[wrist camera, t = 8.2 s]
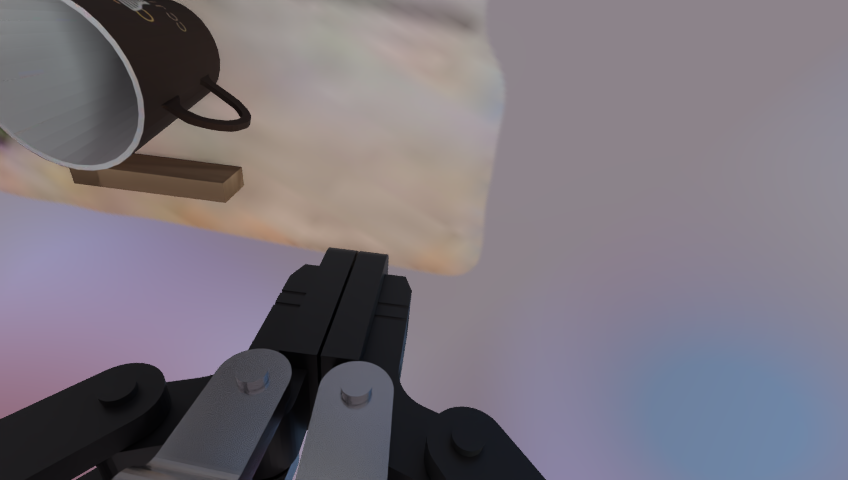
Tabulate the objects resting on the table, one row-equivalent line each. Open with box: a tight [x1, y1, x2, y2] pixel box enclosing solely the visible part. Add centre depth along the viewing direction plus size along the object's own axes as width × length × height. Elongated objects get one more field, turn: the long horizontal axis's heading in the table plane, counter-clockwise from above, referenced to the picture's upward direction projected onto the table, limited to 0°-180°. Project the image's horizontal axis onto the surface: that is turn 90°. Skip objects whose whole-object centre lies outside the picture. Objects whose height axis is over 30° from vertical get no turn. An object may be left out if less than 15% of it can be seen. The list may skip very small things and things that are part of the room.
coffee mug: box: [0, 0, 251, 171], centre depth 26 cm, size 12×9×10 cm
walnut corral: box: [69, 154, 244, 203], centre depth 29 cm, size 16×11×3 cm
